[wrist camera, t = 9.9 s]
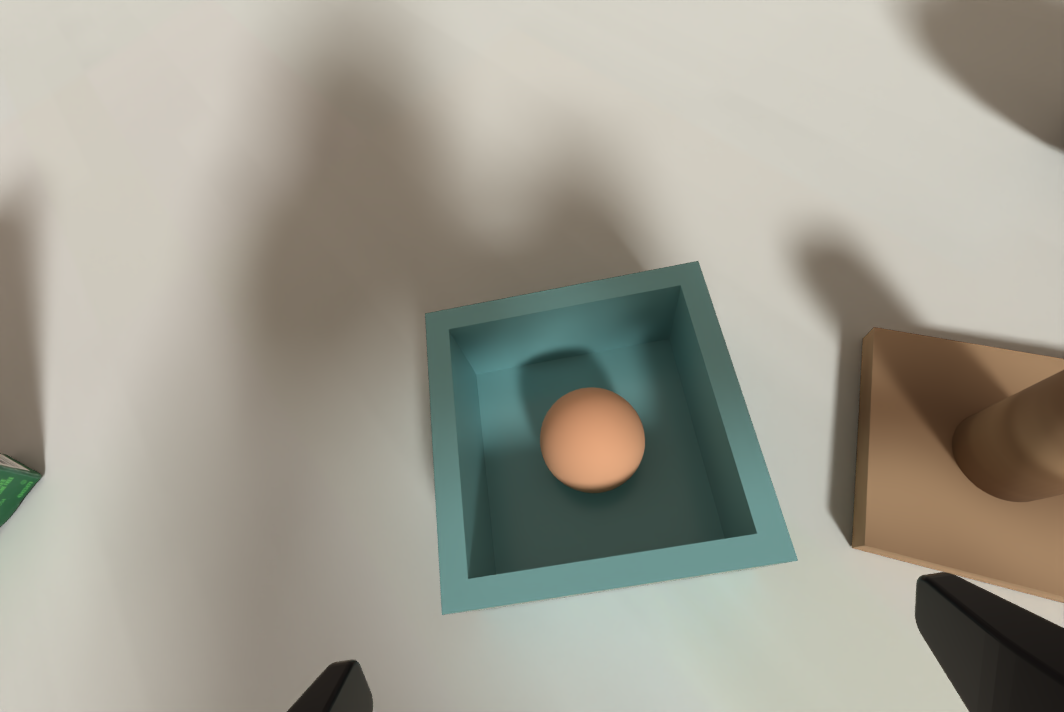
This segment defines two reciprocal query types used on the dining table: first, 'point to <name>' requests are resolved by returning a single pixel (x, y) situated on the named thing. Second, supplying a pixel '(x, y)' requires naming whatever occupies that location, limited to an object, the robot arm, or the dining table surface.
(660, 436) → the teal open-top box
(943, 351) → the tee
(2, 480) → the coffee box
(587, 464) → the ball
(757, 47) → the dining table surface
